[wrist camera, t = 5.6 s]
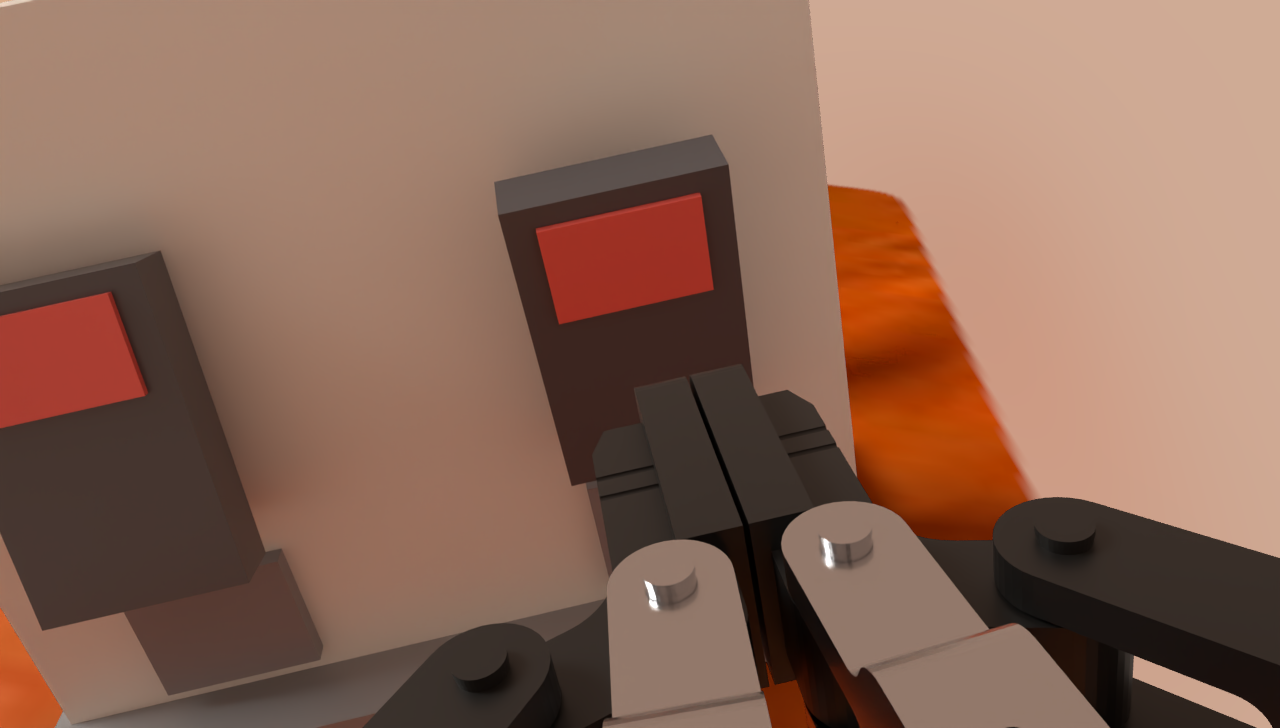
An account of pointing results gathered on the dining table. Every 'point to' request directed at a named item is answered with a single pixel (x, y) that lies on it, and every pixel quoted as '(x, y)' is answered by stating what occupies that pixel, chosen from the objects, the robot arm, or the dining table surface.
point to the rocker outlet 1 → (113, 448)
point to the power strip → (382, 301)
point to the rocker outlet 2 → (625, 281)
